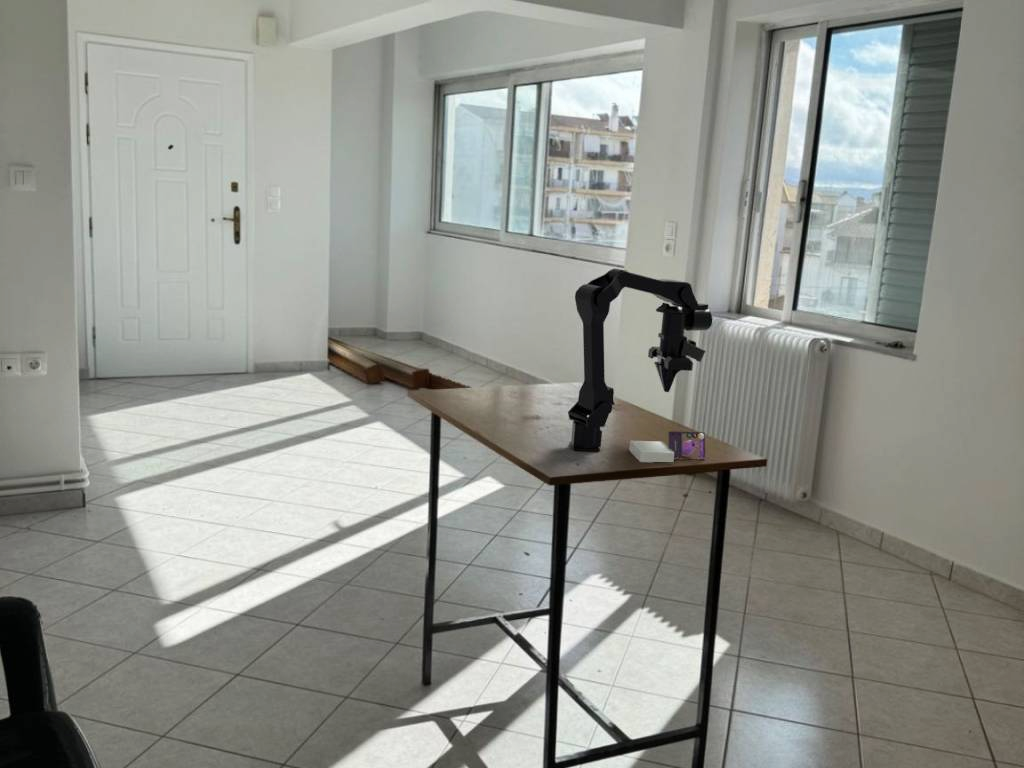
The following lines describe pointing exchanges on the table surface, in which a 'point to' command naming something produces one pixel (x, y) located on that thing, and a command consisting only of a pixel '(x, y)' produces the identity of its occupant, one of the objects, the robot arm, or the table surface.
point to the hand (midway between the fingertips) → (666, 391)
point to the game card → (685, 443)
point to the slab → (651, 451)
